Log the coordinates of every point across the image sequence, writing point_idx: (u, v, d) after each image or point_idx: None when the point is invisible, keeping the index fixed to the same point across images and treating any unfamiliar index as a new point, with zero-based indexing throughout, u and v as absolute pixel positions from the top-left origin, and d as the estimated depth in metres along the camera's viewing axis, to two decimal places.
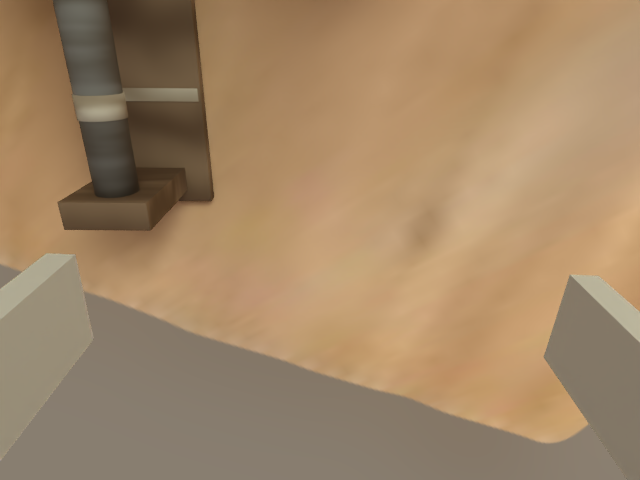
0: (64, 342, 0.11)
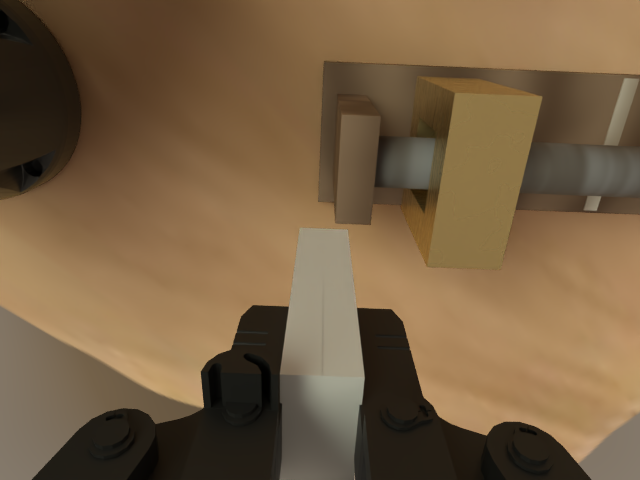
0: None
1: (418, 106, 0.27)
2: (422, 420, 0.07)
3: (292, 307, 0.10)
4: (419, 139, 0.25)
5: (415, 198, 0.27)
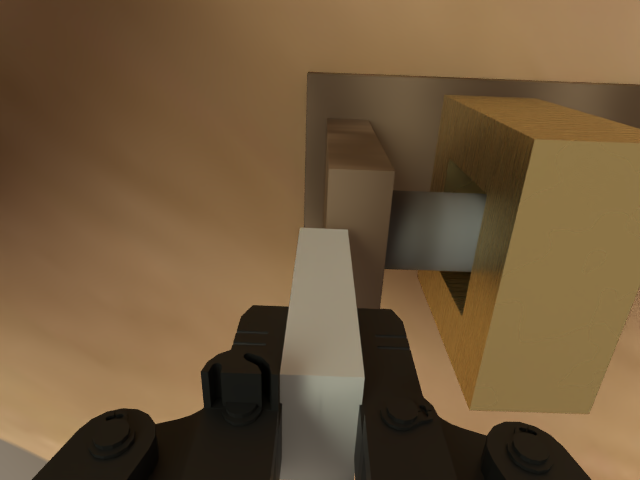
0: None
1: (447, 141, 0.18)
2: (422, 420, 0.07)
3: (292, 307, 0.10)
4: (453, 198, 0.16)
5: (443, 279, 0.18)
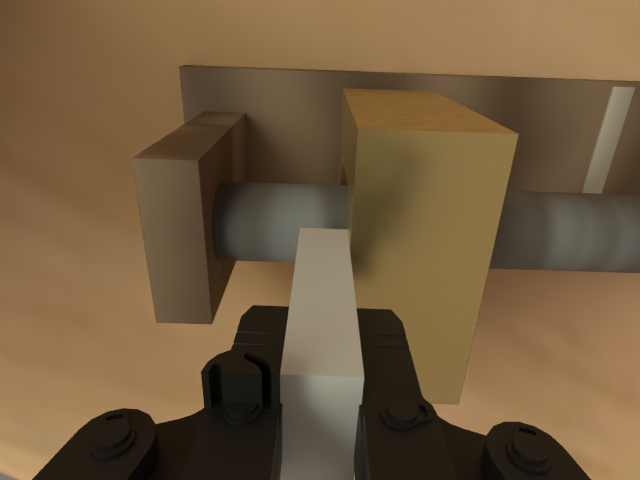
0: None
1: (342, 134, 0.18)
2: (422, 420, 0.07)
3: (292, 307, 0.10)
4: (289, 188, 0.16)
5: None
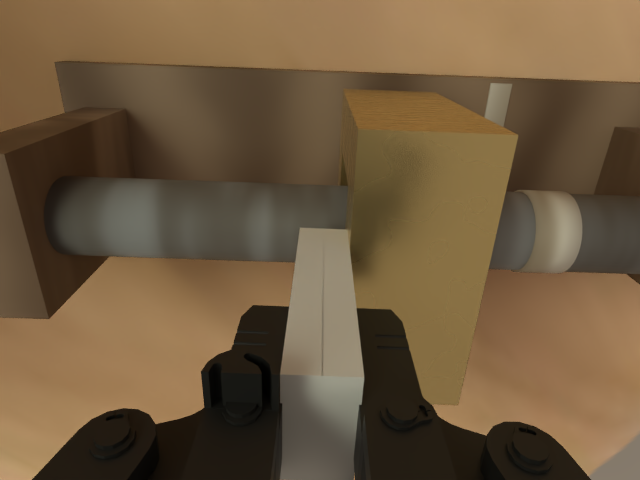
0: None
1: (342, 134, 0.18)
2: (422, 420, 0.07)
3: (292, 307, 0.10)
4: (128, 183, 0.16)
5: None
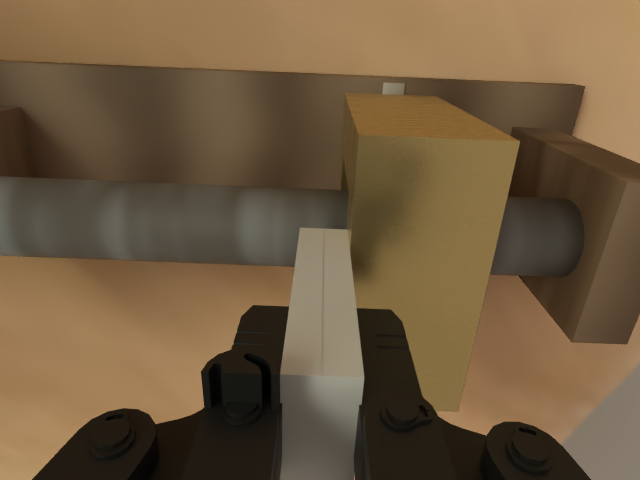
0: None
1: (343, 138, 0.18)
2: (421, 420, 0.07)
3: (292, 307, 0.10)
4: None
5: None
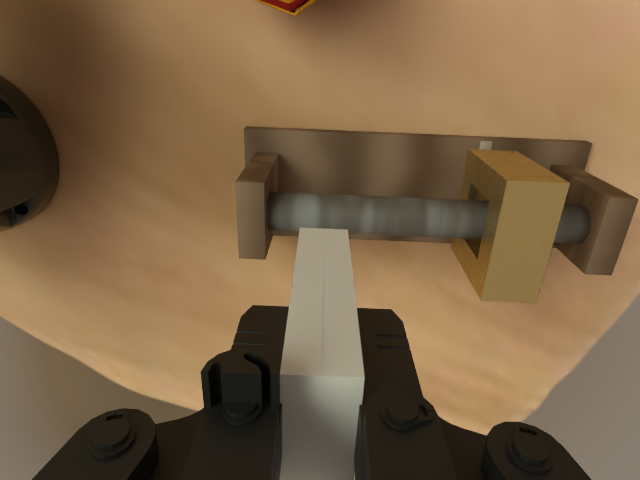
0: None
1: (469, 173, 0.36)
2: (422, 420, 0.07)
3: (292, 307, 0.10)
4: (303, 195, 0.33)
5: (467, 244, 0.35)
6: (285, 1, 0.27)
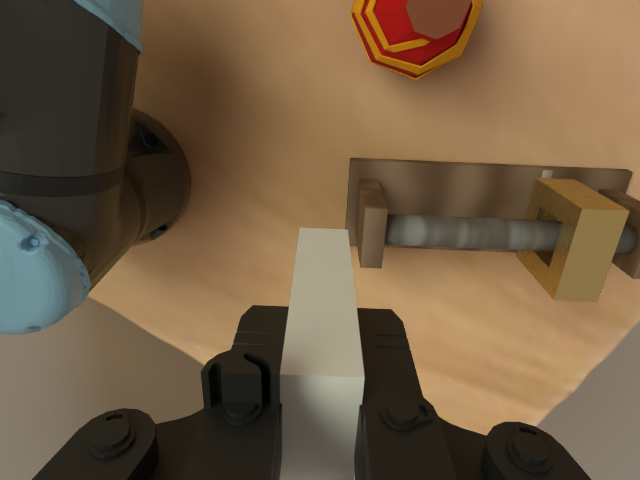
0: None
1: (538, 198, 0.44)
2: (422, 420, 0.07)
3: (292, 307, 0.10)
4: (410, 217, 0.42)
5: (536, 255, 0.44)
6: (416, 73, 0.36)
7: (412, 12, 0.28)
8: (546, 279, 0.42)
